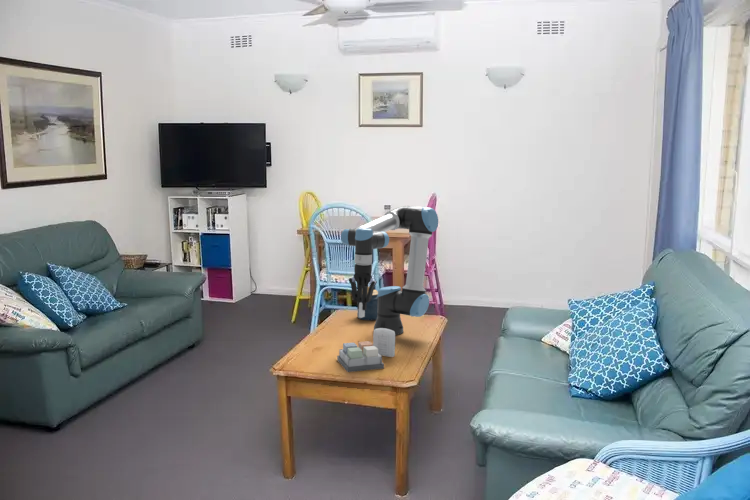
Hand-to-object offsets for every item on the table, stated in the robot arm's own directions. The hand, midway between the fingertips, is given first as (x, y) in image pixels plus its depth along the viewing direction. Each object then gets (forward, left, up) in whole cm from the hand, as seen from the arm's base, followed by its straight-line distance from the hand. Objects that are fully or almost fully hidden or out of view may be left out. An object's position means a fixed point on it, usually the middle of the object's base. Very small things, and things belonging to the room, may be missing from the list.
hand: (361, 317), depth 273 cm
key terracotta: (0, +5, -14) cm, 15 cm away
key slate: (+7, +5, -14) cm, 16 cm away
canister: (-25, -65, -19) cm, 72 cm away
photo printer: (-11, -1, -19) cm, 22 cm away
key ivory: (0, +12, -14) cm, 18 cm away
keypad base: (+3, +8, -19) cm, 21 cm away
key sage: (+7, +12, -14) cm, 19 cm away
